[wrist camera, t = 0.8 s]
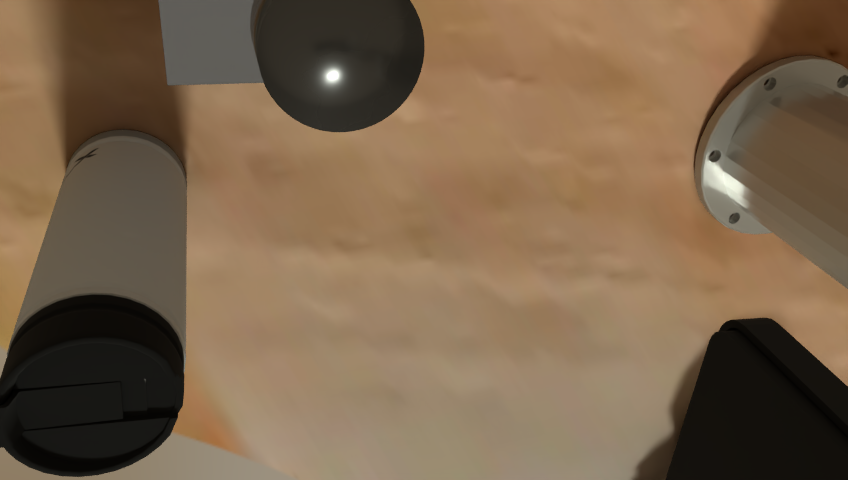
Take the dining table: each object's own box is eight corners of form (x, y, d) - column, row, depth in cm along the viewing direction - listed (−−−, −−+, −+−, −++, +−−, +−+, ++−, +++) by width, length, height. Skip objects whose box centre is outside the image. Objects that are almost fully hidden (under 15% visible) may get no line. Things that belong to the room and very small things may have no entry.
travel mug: (54, 126, 42) (-38, 352, 25) (185, 129, 43) (183, 341, 26) (65, 231, 44) (-12, 499, 28) (187, 230, 46) (187, 480, 29)
